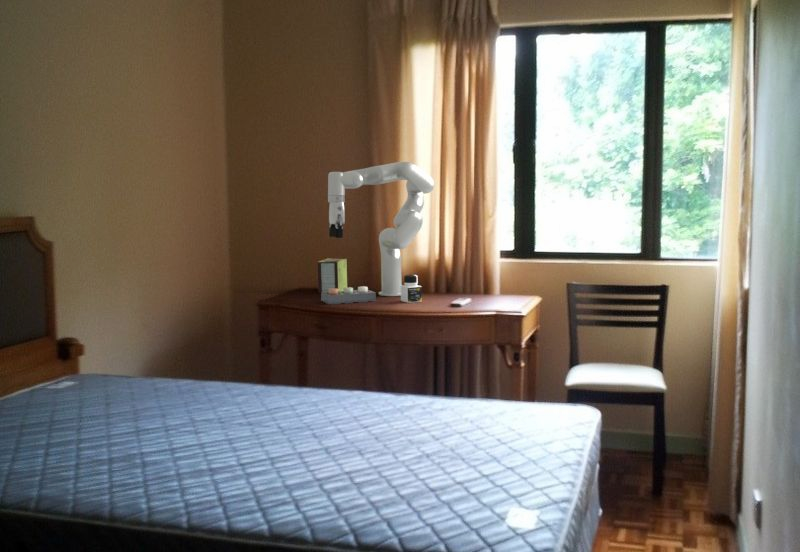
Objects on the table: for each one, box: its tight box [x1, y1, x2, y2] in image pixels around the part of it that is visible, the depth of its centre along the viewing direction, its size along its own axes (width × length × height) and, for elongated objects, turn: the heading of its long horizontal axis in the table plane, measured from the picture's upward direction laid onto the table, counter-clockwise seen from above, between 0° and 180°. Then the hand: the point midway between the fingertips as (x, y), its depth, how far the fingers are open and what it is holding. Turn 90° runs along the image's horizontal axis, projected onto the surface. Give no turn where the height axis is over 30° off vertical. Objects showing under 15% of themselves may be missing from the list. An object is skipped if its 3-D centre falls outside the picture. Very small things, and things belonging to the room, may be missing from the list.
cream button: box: [357, 285, 369, 292], centre depth 395 cm, size 4×4×3 cm
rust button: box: [329, 288, 338, 294], centre depth 390 cm, size 4×4×3 cm
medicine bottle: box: [400, 274, 423, 304], centre depth 389 cm, size 7×7×12 cm
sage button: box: [343, 286, 354, 293], centre depth 393 cm, size 4×4×3 cm
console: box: [320, 289, 377, 305], centre depth 393 cm, size 22×12×4 cm, turn 112°
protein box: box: [317, 258, 348, 294], centre depth 427 cm, size 10×15×16 cm
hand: (335, 237), depth 394 cm, fingers open, 9 cm apart
